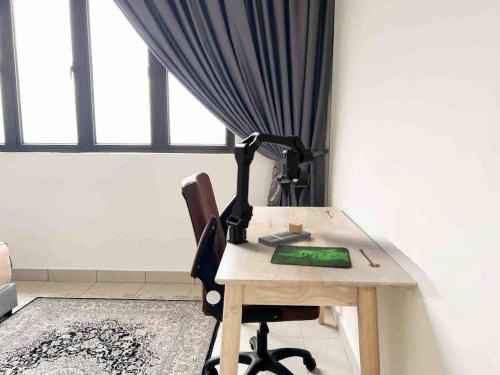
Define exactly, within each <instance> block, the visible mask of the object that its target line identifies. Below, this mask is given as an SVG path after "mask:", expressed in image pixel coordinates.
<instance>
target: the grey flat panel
mask: <svg viewBox="0 0 500 375" xmlns="http://www.w3.org/2000/svg"><path fill="white" fill-rule="evenodd" d="M310 237H312V233H311V232H309V231H305V230H303V231H302V232H298V233H296V232H293V231H289V230H287V231H283V232H278V233H273V234H268V235H264V236H260V237H258V239H257V242H258V244H261V245H264V246H267V247H270V248H273V247H277V246H279V245H288V244H290V243H294V242H298V241H302V240H307V239H311V238H310ZM306 238H307V239H306Z"/></svg>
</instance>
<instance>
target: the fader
mask: <svg viewBox="0 0 500 375" xmlns="http://www.w3.org/2000/svg"><path fill="white" fill-rule="evenodd" d="M303 228H304V227H303V224H302V223H298V222H291V223H289V222H288V231H293V232H296V233H298V232H302V231H304V229H303Z"/></svg>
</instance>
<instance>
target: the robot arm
mask: <svg viewBox="0 0 500 375" xmlns="http://www.w3.org/2000/svg"><path fill="white" fill-rule="evenodd" d="M263 143H266V144H272V145H278V146H280V147H282V148H284V150H283V151H282V152H281V154H282V155H285V166H283V169H284V170H285V174H279V175H277V176H276V182H277V184H279V185H278V186H280V188H281V191H282V193H283V195H284V198H285V199H288V198H289V194H290V186H291V185H292V187H291V188H292V191H293V192H292V193H293V195H294V200H295V201H296V202H299V201H300V198H301V195H302V193H303V190H304V189H305V188H307V187H308V186H309V185H310V178H311V176H312V174H311V173H310V172H307V171H304V169H302V167H301V166H300V165H301V164H302V165H304V164H311V163H313V162H314V160H315V155H314V152H312V150H311V149H312V148H309V147H306V146H305V145H304V143H303V142H302V138H301V136H300V135H279V134H278V135H277V134H272V133H264V132H263V131H254V132H253V133H251V134H250V135H249V136H248V137H247V138H245V139H242V141H241V142H238V143H237V144H236V145H234V148H233V154H234V160H235V162H236V164H237V171H236V172H237V173H236V176H237V177H236V192H235V194H236V197H235V198H236V200H235V202H234V204H233V206H232V207H231V208H232V209H231V214H230V215H229V217H228V218H227V219H226V220H225V224H226V226H228V239H227V240H226V242H227V243H230V244H233V245H240V244H241V245H242V244H246V243H249V240H248V239H247V235H248V234H247V232H248V231H247V229H249V225H250V221H251V220H252V218H253V217H254V214H253V213H254V212H253V211H254V206H253V205H251V204H250V203H249V191H250V190H249V188H250V168H251V165H252V163H253V161H254V159H255V153H256V151H257V150H258V149H259V148H260V147H261V145H262V144H263Z"/></svg>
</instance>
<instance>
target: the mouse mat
mask: <svg viewBox="0 0 500 375" xmlns="http://www.w3.org/2000/svg"><path fill="white" fill-rule="evenodd" d="M269 262H270V264H272V265H281V266H282V265H284V266H298V267H299V266H300V267H301V266H302V267H316V268H317V267H318V268H341V269H342V268H344V269H349V268H351V267H352V262H351V257H350V253H349V248H347V247H342V246H339V247H338V246H337V247H336V246H310V245H309V246H307V245H291V244H283V245H279V246H278V247H277V246H275V248H274V251H273V254H272V256H271V259H270V261H269Z"/></svg>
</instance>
